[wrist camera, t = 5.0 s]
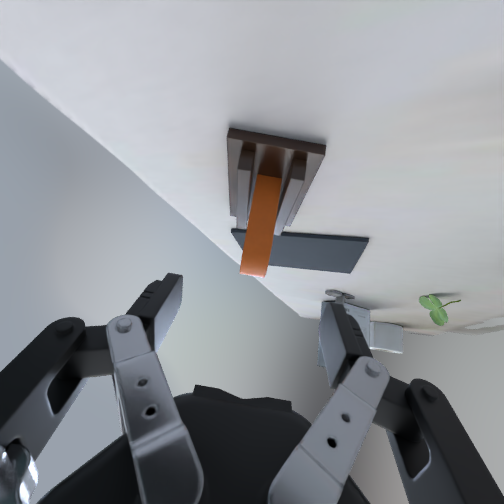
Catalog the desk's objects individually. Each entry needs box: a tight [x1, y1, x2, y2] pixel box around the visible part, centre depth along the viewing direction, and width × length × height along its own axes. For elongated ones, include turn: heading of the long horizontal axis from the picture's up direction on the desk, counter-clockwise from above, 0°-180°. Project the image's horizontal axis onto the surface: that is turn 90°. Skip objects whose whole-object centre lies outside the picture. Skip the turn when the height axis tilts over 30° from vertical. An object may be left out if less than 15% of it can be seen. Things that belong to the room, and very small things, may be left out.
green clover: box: [419, 295, 461, 326], centre depth 57 cm, size 7×8×7 cm
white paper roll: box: [370, 322, 403, 353], centre depth 112 cm, size 16×15×11 cm
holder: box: [227, 128, 326, 236], centre depth 27 cm, size 14×8×3 cm, turn 177°
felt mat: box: [231, 229, 369, 274], centre depth 45 cm, size 20×16×1 cm
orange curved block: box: [240, 174, 282, 278], centre depth 26 cm, size 6×2×9 cm, turn 177°
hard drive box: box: [317, 302, 370, 368], centre depth 82 cm, size 16×8×20 cm, turn 60°
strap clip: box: [325, 290, 355, 305], centre depth 69 cm, size 8×3×4 cm, turn 63°
